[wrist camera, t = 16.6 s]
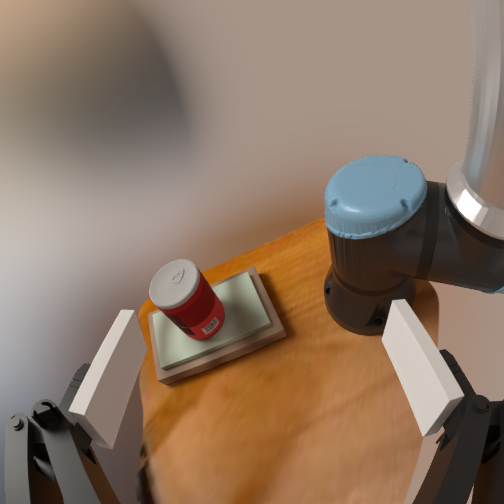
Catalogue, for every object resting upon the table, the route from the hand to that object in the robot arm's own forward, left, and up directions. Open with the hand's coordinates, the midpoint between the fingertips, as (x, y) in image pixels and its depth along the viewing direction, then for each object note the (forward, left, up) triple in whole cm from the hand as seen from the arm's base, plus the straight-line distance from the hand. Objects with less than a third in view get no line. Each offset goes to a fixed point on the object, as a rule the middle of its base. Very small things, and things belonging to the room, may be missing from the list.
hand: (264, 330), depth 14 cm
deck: (+1, -23, -29) cm, 37 cm away
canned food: (+1, -23, -26) cm, 35 cm away
